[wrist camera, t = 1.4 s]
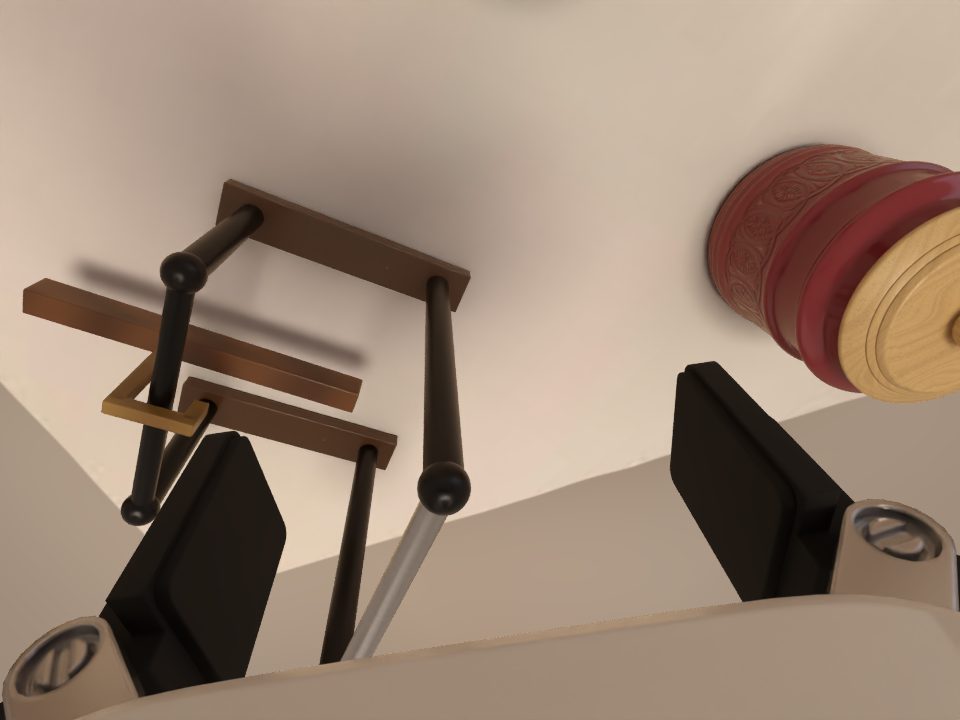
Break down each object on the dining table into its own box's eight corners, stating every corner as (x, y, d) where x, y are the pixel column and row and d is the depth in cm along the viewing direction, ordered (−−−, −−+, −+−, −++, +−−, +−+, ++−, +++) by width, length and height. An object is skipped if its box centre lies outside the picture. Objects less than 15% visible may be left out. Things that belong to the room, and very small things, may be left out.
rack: (182, 406, 42) (-39, 712, 22) (229, 178, 34) (-48, 337, 14) (386, 461, 47) (353, 758, 27) (470, 271, 39) (512, 491, 19)
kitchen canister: (884, 115, 36) (1224, 154, 20) (869, 286, 42) (1120, 413, 27) (695, 175, 37) (885, 254, 21) (708, 333, 43) (862, 482, 28)
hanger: (44, 299, 33) (-80, 371, 25) (45, 277, 32) (-81, 343, 24) (356, 397, 38) (333, 482, 30) (362, 379, 37) (342, 461, 29)
